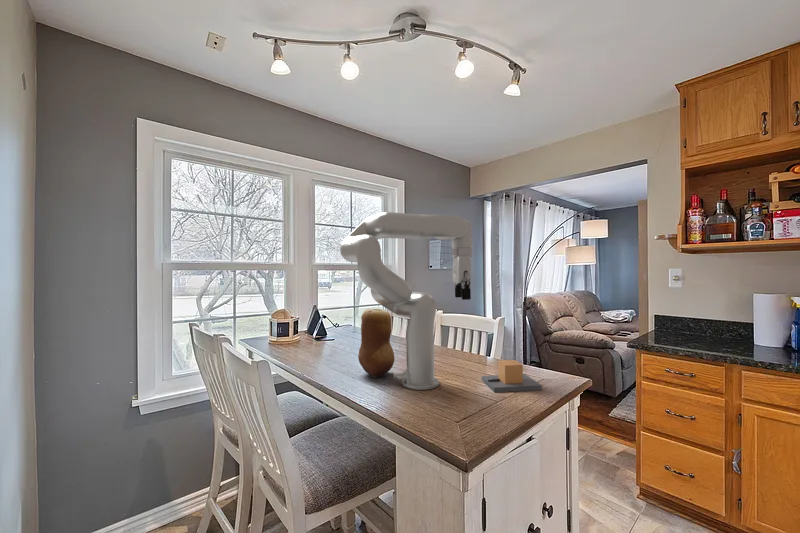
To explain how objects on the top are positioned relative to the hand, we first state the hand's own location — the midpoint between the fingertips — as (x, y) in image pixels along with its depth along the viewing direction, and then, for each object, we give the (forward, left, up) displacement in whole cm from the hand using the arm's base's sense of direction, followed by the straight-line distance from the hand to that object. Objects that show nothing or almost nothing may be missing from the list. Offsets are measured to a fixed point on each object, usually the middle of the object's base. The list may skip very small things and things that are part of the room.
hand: (462, 298), depth 133 cm
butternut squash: (-33, +2, -28) cm, 44 cm away
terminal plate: (+12, -15, -28) cm, 34 cm away
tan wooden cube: (+12, -15, -27) cm, 33 cm away
